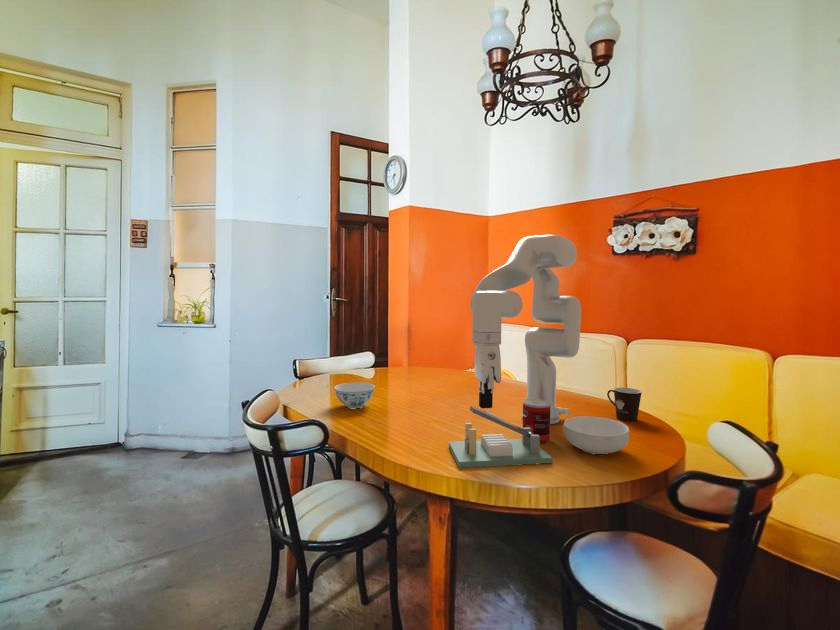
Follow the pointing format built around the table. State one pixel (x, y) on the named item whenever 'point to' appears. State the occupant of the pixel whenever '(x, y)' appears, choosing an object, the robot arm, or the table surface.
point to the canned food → (537, 417)
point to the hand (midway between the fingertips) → (485, 407)
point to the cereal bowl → (596, 434)
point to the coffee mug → (626, 403)
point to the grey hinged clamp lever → (500, 421)
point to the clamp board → (497, 461)
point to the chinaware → (354, 394)
